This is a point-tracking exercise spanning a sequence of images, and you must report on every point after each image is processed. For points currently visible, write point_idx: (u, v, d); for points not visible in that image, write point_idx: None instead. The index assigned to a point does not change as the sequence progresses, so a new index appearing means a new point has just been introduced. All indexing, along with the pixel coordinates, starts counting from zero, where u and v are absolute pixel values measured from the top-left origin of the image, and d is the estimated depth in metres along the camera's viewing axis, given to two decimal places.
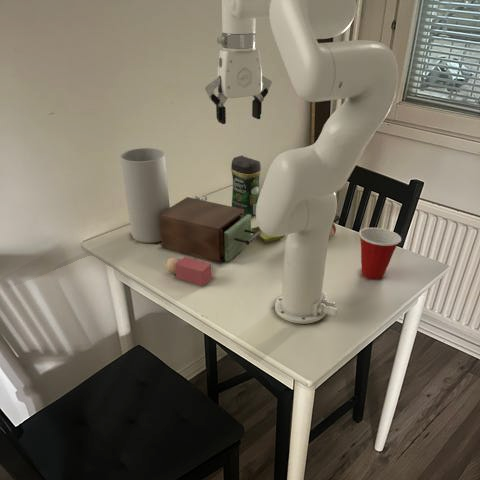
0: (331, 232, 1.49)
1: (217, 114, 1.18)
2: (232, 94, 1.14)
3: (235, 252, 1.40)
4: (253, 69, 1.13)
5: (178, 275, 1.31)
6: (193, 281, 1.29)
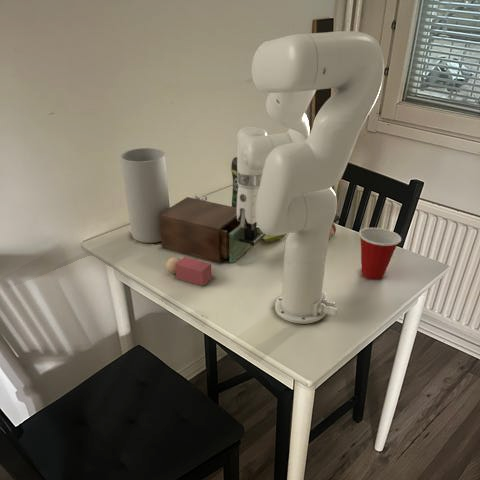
0: (331, 232, 1.49)
1: (248, 236, 1.36)
2: (254, 220, 1.30)
3: (240, 253, 1.39)
4: None
5: (178, 275, 1.31)
6: (193, 281, 1.29)
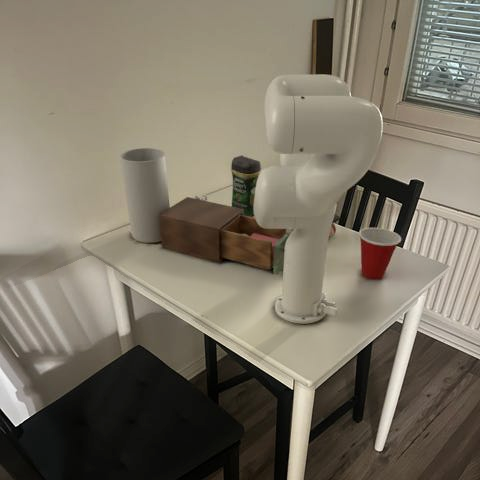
0: (331, 232, 1.49)
1: None
2: None
3: (283, 265, 1.34)
4: None
5: None
6: None
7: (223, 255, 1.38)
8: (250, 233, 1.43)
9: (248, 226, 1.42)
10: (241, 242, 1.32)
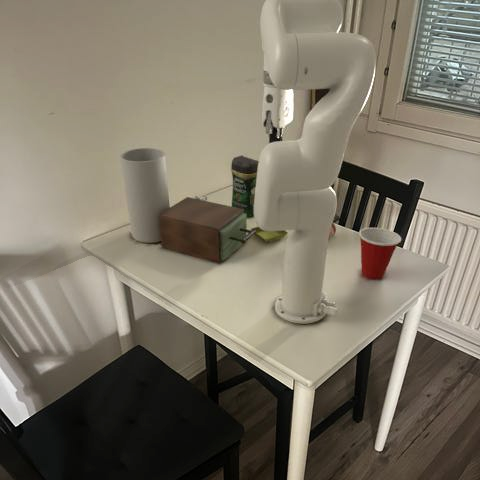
0: (331, 232, 1.49)
1: None
2: (281, 125, 1.26)
3: (231, 251, 1.40)
4: (290, 100, 1.27)
5: None
6: None
7: None
8: None
9: None
10: None
